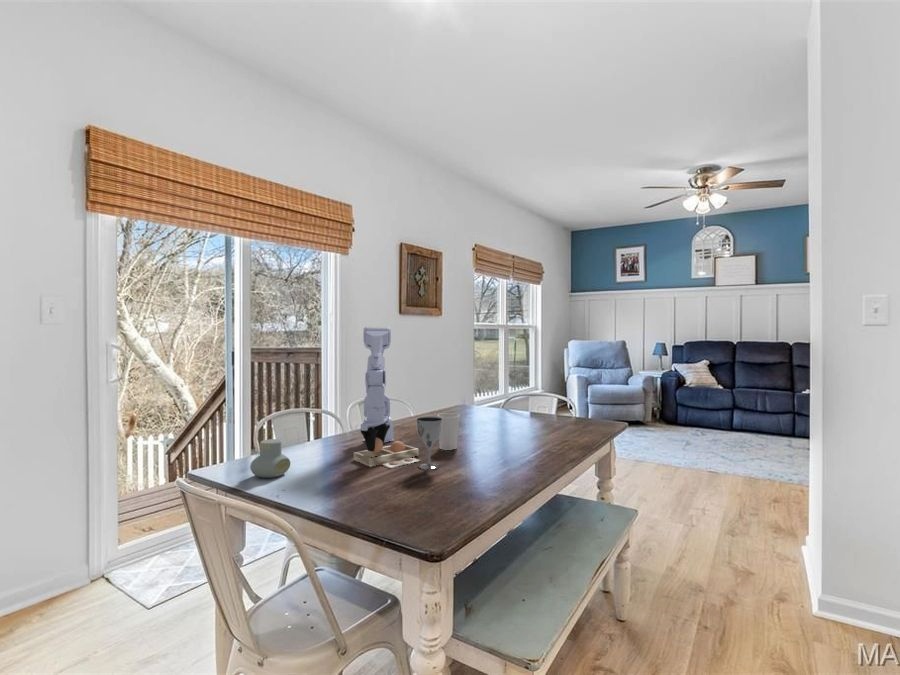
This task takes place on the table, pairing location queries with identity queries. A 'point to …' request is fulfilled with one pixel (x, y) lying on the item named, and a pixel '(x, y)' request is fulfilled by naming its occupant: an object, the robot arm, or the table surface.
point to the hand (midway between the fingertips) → (375, 448)
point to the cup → (449, 431)
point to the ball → (397, 447)
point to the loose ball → (378, 445)
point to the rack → (388, 457)
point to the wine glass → (429, 435)
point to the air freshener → (270, 460)
